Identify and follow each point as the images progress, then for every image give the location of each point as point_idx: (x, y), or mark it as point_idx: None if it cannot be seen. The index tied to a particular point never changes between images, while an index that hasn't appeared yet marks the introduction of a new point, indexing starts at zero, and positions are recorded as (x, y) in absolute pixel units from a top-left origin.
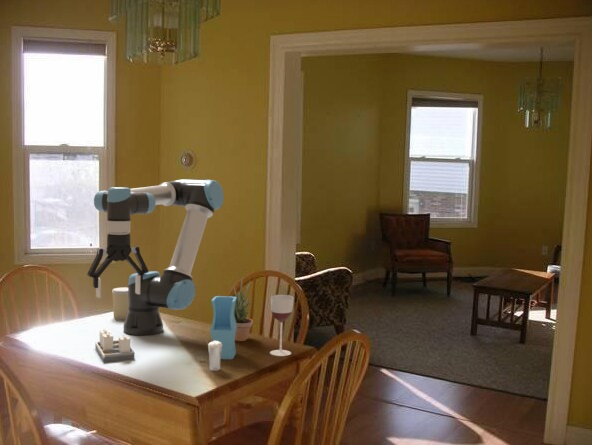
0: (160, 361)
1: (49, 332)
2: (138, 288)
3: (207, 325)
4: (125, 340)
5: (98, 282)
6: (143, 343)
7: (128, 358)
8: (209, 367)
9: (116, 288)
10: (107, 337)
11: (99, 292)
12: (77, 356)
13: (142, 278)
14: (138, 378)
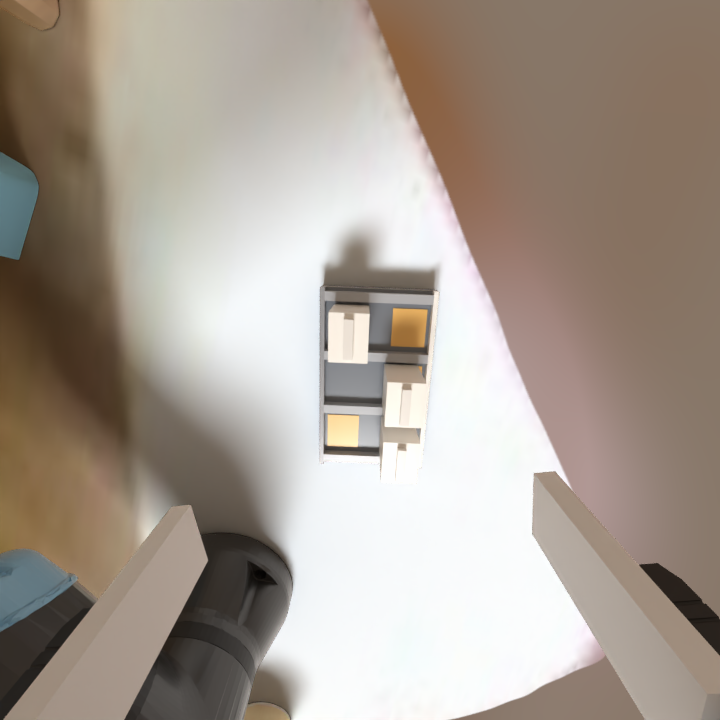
0: (237, 218)
1: (498, 649)
2: (155, 549)
3: None
4: (349, 312)
5: (685, 624)
6: (256, 453)
7: (344, 286)
8: (53, 8)
9: None
10: (411, 382)
11: (578, 508)
12: (494, 392)
13: (15, 687)
14: (364, 18)
